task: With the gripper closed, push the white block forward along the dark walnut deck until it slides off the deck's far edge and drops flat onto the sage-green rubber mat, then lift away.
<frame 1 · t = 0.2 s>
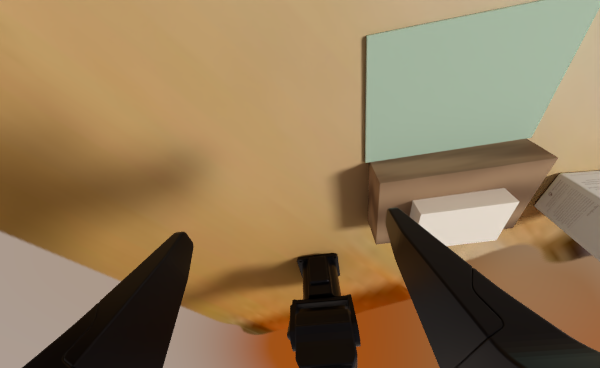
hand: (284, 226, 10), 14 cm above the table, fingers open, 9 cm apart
deck: (435, 184, 28), on the table
white block: (450, 214, 25), point 4 cm above the table, touching deck
small box: (575, 186, 29), on the table
mat: (459, 93, 21), on the table
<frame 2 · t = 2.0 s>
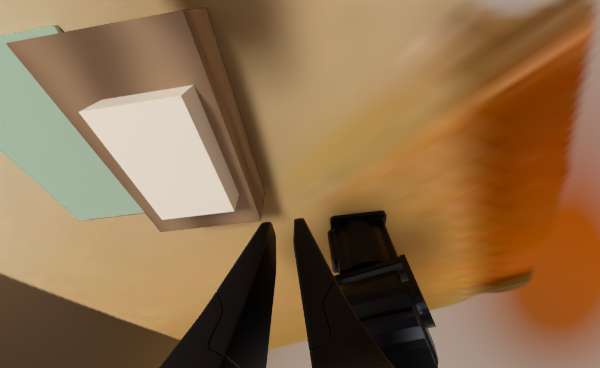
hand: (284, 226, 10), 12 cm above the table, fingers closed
deck: (187, 131, 20), on the table
white block: (181, 154, 17), point 4 cm above the table, touching deck
mat: (72, 148, 21), on the table
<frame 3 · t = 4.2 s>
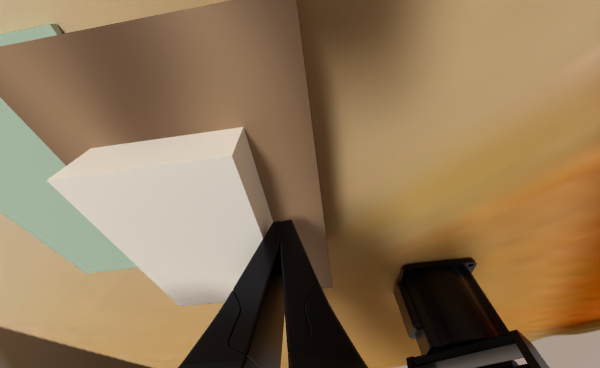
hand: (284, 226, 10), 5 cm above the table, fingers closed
deck: (237, 171, 14), on the table
white block: (210, 219, 11), point 4 cm above the table, touching gripper
mat: (78, 193, 15), on the table
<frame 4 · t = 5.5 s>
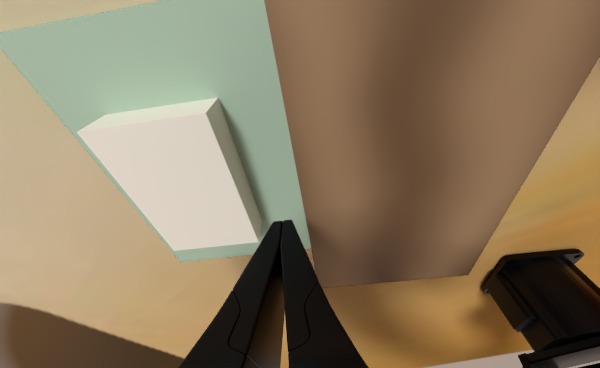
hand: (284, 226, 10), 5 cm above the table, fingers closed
deck: (383, 151, 14), on the table
white block: (186, 198, 13), point 2 cm above the table, tilted 180°, touching mat
mat: (208, 174, 15), on the table
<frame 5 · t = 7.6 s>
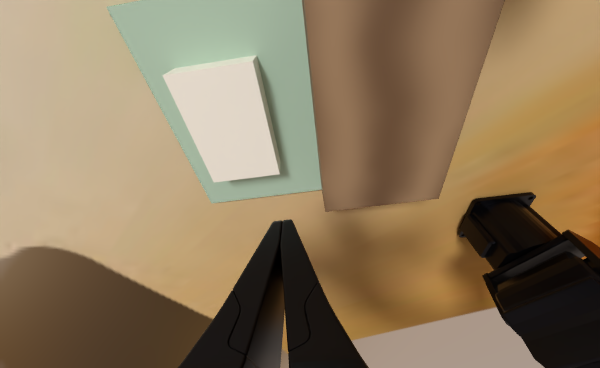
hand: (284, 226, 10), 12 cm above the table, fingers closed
deck: (374, 101, 19), on the table
white block: (229, 132, 17), point 2 cm above the table, tilted 180°, touching mat
mat: (242, 120, 19), on the table
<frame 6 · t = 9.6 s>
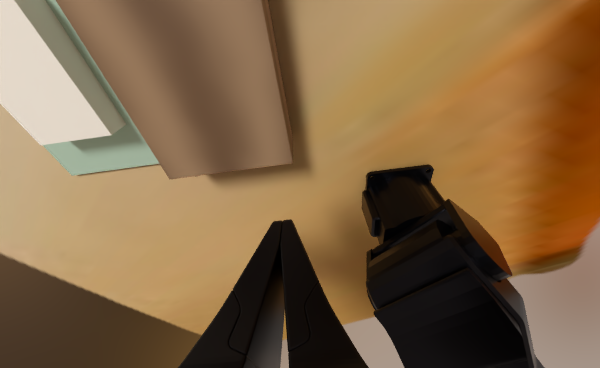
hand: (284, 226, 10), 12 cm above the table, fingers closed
deck: (204, 47, 16), on the table
white block: (24, 79, 15), point 2 cm above the table, tilted 180°, touching mat
mat: (61, 71, 17), on the table
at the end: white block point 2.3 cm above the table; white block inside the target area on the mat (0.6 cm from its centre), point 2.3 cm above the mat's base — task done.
